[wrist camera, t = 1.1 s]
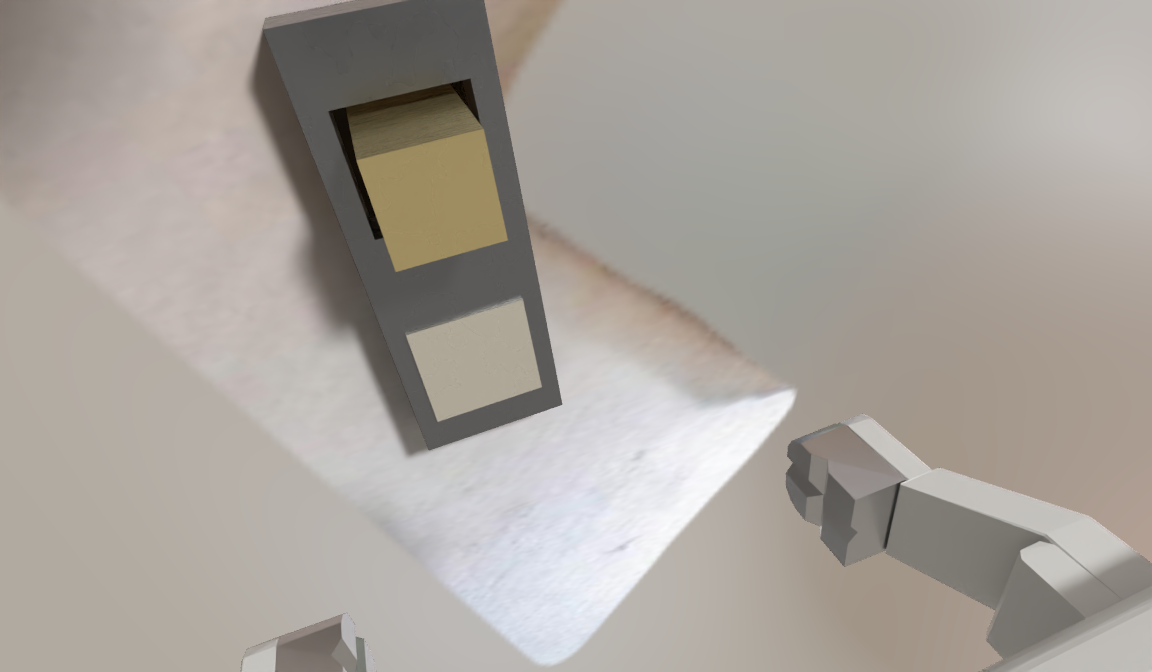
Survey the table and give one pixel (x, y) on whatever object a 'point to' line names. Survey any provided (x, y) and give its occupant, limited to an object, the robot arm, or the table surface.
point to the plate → (399, 299)
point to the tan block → (427, 175)
